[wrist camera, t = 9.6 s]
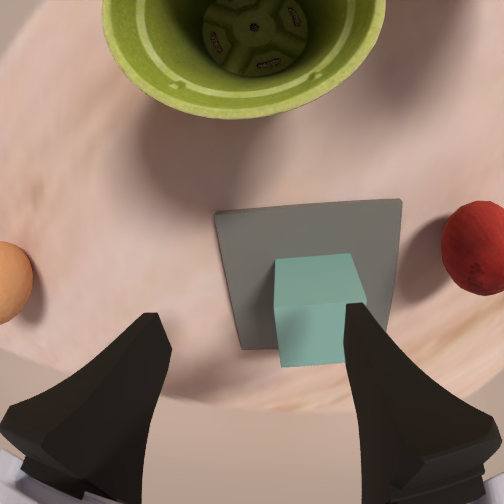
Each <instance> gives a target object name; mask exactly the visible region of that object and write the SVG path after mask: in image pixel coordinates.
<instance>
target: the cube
mask: <svg viewBox="0 0 504 504" xmlns="http://www.w3.org/2000/svg"><path fill="white" fill-rule="evenodd" d="M359 302H363V303H364V304H365V306H366V303H367V299H366V296H365V293H364V290H363V287H362V284H361V281H360V279H359V276H358V273H357V270H356V267H355V265H354V262H353V259H352V257H351V254H350V253H345V254H334V255H322V256H309V257H297V258H285V259H275V286H274V314H275V322H276V330H277V338H278V347H279V355H280V363H281V367H298V366H312V365H324V364H335V363H345V355H344V347H343V338H344V325H345V312H346V304H348V303H359Z"/></svg>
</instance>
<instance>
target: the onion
mask: <svg viewBox="0 0 504 504" xmlns="http://www.w3.org/2000/svg"><path fill="white" fill-rule="evenodd" d="M441 251H442V259H443V263H444V266H445V268H446V270H447V272H448V273H449V275H450V276H451V278H452V279H453V281H454V282H455V283H456V284H457V285H458V286H459V287H460V288H462V289H464V290H466V291H469V292H472V293H474V294H477V295H482V296H488V295H493V294H497V293H499V292H502V291H504V208H502V207H500V206H499V205H497V204H495V203H493V202H491V201H475V202H472V203H469V204H466V205H464V206H461V207H460V208H459V209H458V210H457V211H455V212H454V213H453V214H452V215H451V216H450V218H449V220H448V221H447V223H446V225H445V227H444V230H443V234H442V239H441Z"/></svg>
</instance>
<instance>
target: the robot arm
mask: <svg viewBox="0 0 504 504" xmlns="http://www.w3.org/2000/svg"><path fill="white" fill-rule="evenodd" d="M343 347H344V355H345V363H346V369H347V374H348V378H349V382H350V387H351V391H352V395H353V400H354V404H355V409H356V413H357V419H358V426H359V437H360V450H361V473H362V504H504V472H502V473H500V474H498V475H496V476H494V477H492V478H490V479H488V480H486V481H484V482H483V479H482V475H483V474H484V473H485V469H484V465H483V463H484V462H485V461H487V460H488V459H489V458H490V457H491V456H492V455H493V454H494V453H495V452H496V451H497V450H498V449H499V447H500V445H501V443H502V439H501V436H500V433H499V430H498V427H497V425H496V423H495V421H494V419H493V417H492V416H490V415H488V414H486V413H484V412H482V411H480V410H478V409H476V408H474V407H472V406H470V405H469V404H467V403H465V402H464V401H462V400H461V399H459V398H457V397H456V396H454V395H453V394H451V393H450V392H449V391H447V390H446V389H444V388H443V387H442V386H440V385H439V384H438V383H436V382H435V381H434V380H432V379H431V378H430V377H429V376H428V375H426V374H425V373H424V372H423V371H422V370H421V369H420V368H419V367H418V366H416V365H415V364H414V363H413V362H412V361H411V360H410V359H409V358H408V357H407V356H406V355H405V353H404V352H403V351H402V350H401V349H400V348H399V347H398V346H397V345H396V344H395V343H394V341H393V340H392V339H391V338H390V337H389V335H388V334H387V333H386V332H385V331H384V329H383V328H382V327H381V326H380V324H379V323H378V322H377V321H376V319H375V318H374V317H373V315H372V314H371V313H370V311H369V310H368V308H367V307H366V306H365V304H364V303H363V302H359V303H348V304H346V312H345V325H344V338H343ZM171 352H172V347H171V345H170V342H169V340H168V338H167V335H166V333H165V330H164V328H163V325H162V323H161V320H160V318H159V315H158V313H143V314H142V315H141V316H140V317H139V318H138V319H136V320H135V321H134V322H133V323H132V324H131V325H130V326H129V327H128V328H127V329H126V330H125V331H124V332H123V333H122V334H120V335H119V336H118V337H117V338H116V339H115V340H114V341H113V342H112V343H111V344H110V345H109V346H108V347H106V348H105V349H104V350H103V351H102V352H101V353H100V354H98V355H97V356H96V357H95V358H94V359H93V360H92V361H90V362H89V363H88V364H87V365H85V366H84V367H83V368H81V369H80V370H79V371H77V372H76V373H74V374H73V375H72V376H70V377H68V378H67V379H65V380H64V381H62V382H61V383H59V384H57V385H56V386H54V387H52V388H50V389H48V390H47V391H45V392H43V393H41V394H39V395H36V396H34V397H32V398H30V399H27V400H25V401H22V402H19V403H17V404H14V405H11V406H10V407H9V409H8V410H7V412H6V414H5V416H4V418H3V420H2V421H1V423H0V433H1V434H2V435H3V436H4V437H5V438H6V439H7V440H8V441H9V442H10V443H12V444H13V445H14V446H15V447H16V448H17V449H18V450H20V451H21V452H22V453H23V454H24V455H26V457H25V459H24V460H22V459H21V458H19V457H17V456H16V455H14V454H12V453H10V452H9V451H7V450H5V449H2V450H1V452H0V503H1V504H141V503H142V498H141V497H142V475H143V464H144V456H145V449H146V443H147V438H148V432H149V427H150V422H151V419H152V416H153V412H154V409H155V406H156V403H157V401H158V398H159V395H160V392H161V389H162V386H163V383H164V380H165V377H166V374H167V371H168V367H169V362H170V357H171Z"/></svg>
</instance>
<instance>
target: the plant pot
mask: <svg viewBox="0 0 504 504" xmlns="http://www.w3.org/2000/svg"><path fill="white" fill-rule="evenodd" d="M288 7H290V8H293V9H294V11H295V12H296V14H297V16H298V18H299V22H300V24H299V26H297V27H295V25H294V22H293V18H292V16H291V14H290V12H289V10H288V9H287V8H288ZM385 7H386V0H236V1H233V2H230V0H103V4H102V24H103V31H104V35H105V38H106V41H107V43H108V46H109V49H110V52H111V54H112V56H113V58H114V59H115V61H116V63H117V64H118V66H119V67H120V69H121V70H122V71H123V72H124V74H125V75H126V76H127V77H128V79H129V80H130V81H131V82H132V83H133V84H134V85H136V86H137V87H138V88H139V89H140V90H141V91H142V92H144V93H145V94H147V95H149V96H150V97H152V98H154V99H155V100H157V101H159V102H161V103H163V104H165V105H167V106H169V107H171V108H174V109H176V110H179V111H181V112H184V113H188V114H192V115H196V116H201V117H205V118H212V119H224V120H243V119H253V118H260V117H266V116H271V115H275V114H279V113H283V112H286V111H289V110H292V109H295V108H298V107H300V106H303V105H305V104H307V103H310V102H312V101H314V100H316V99H317V98H319V97H321V96H323V95H325V94H326V93H328V92H330V91H331V90H332V89H334V88H335V87H337V86H338V85H339V84H341V83H342V82H343V81H345V80H346V79H347V78H348V77H349V76H350V75H351V74H352V73H353V72H354V71H355V70H356V69H357V68H358V67H359V66H360V65H361V64H362V62H363V61H364V60H365V59H366V57H367V56H368V54H369V53H370V51H371V50H372V48H373V46H374V45H375V43H376V41H377V39H378V36H379V34H380V31H381V29H382V25H383V21H384V17H385ZM251 24H257V25H258V27H259V29H258V31H256V32H254V31H251V29H250V26H251ZM213 32H214V33H216V37H217V39H218V42H219V44H220V47H221V48H222V52H218V51H216V48H215V46H214V44H213V43H212V42H211V34H212V33H213ZM275 58H280V62H279V63H278V64H277V65H275V66H270V67H268V68H258V67H257V64H259V63H264V62H269V61H271V60H274V59H275Z"/></svg>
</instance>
